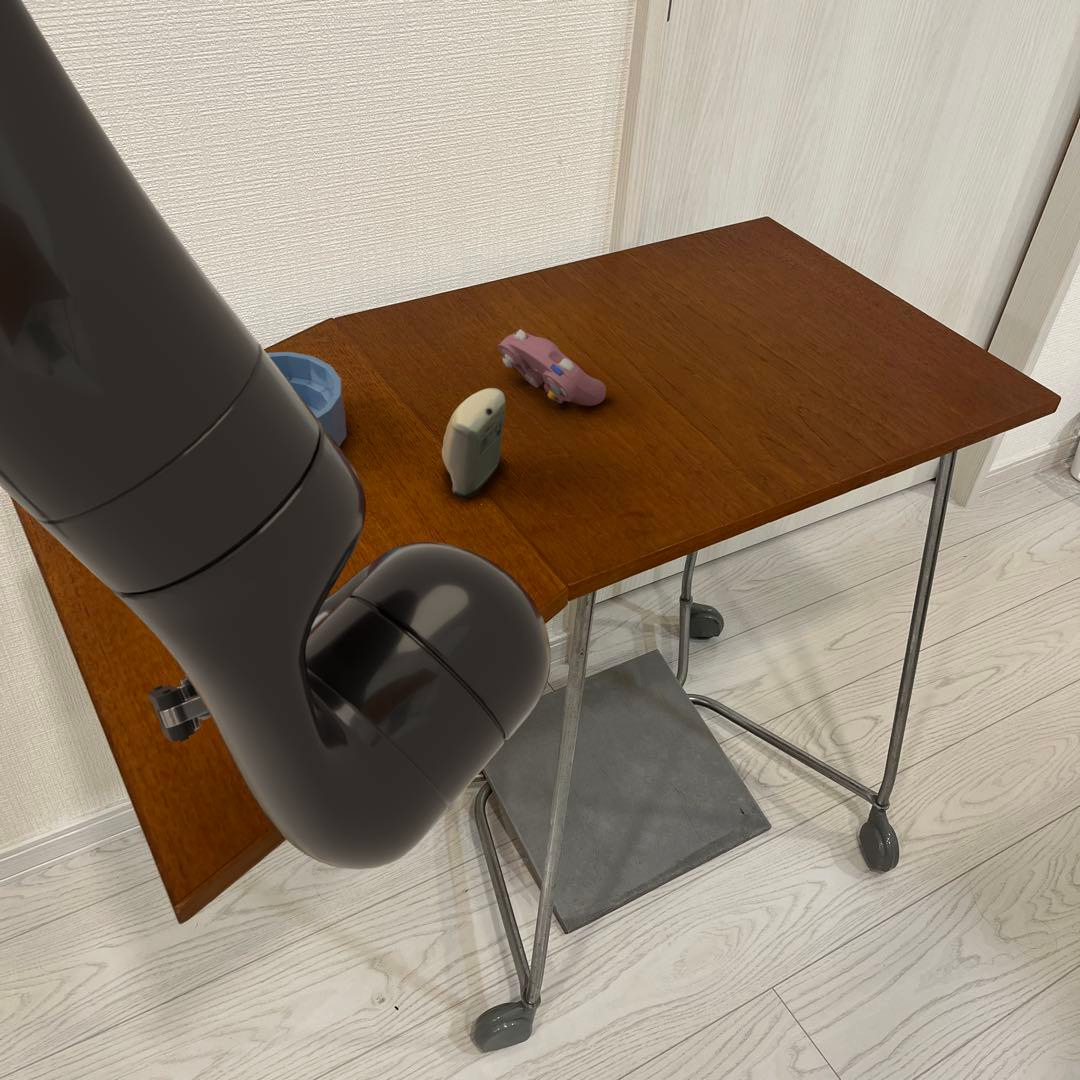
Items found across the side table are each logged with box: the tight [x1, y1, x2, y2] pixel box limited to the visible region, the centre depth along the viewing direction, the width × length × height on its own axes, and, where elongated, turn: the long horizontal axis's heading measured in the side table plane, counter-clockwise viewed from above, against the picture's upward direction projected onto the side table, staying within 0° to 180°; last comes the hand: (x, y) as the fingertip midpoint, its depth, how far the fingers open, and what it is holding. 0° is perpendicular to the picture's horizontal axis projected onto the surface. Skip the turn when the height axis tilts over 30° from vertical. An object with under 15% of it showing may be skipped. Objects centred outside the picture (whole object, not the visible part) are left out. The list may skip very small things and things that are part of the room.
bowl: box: [266, 351, 347, 447], centre depth 86 cm, size 11×11×5 cm
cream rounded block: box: [441, 387, 507, 500], centre depth 81 cm, size 6×5×8 cm
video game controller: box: [497, 329, 607, 407], centre depth 91 cm, size 10×5×7 cm, turn 43°
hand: (269, 661), depth 63 cm, fingers open, 8 cm apart
